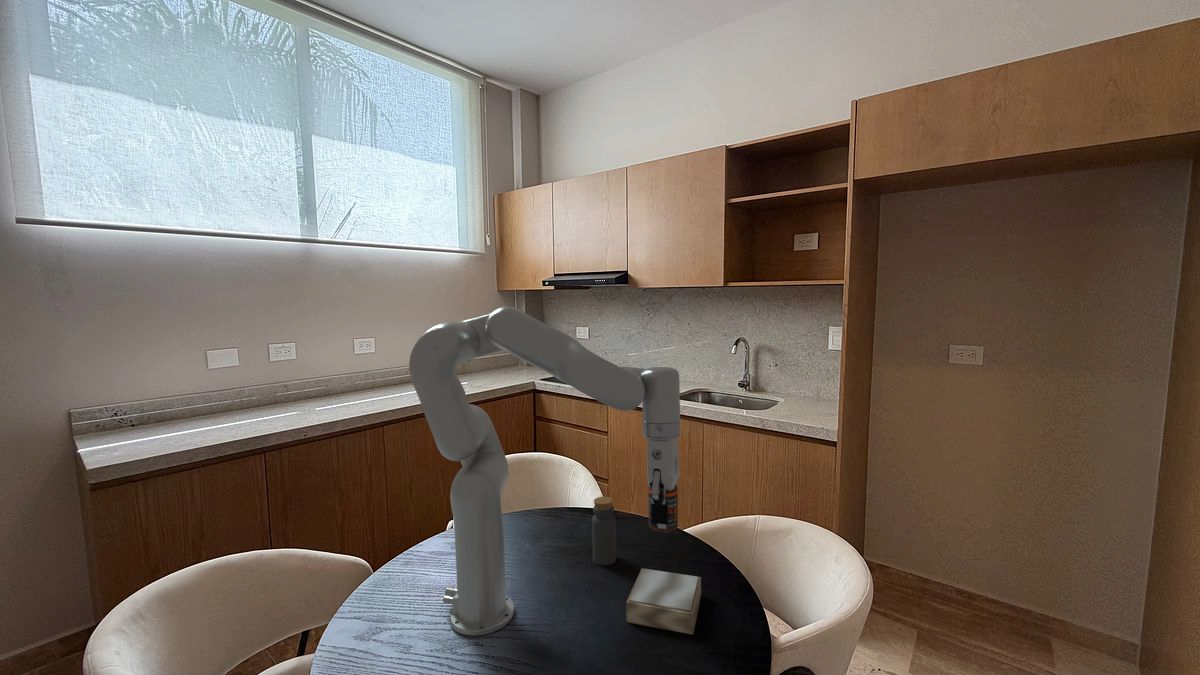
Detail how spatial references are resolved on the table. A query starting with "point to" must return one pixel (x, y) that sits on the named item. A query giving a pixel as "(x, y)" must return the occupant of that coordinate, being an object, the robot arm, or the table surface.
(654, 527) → the supplement bottle
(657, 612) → the grey square box
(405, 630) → the table surface
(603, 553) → the bottle
